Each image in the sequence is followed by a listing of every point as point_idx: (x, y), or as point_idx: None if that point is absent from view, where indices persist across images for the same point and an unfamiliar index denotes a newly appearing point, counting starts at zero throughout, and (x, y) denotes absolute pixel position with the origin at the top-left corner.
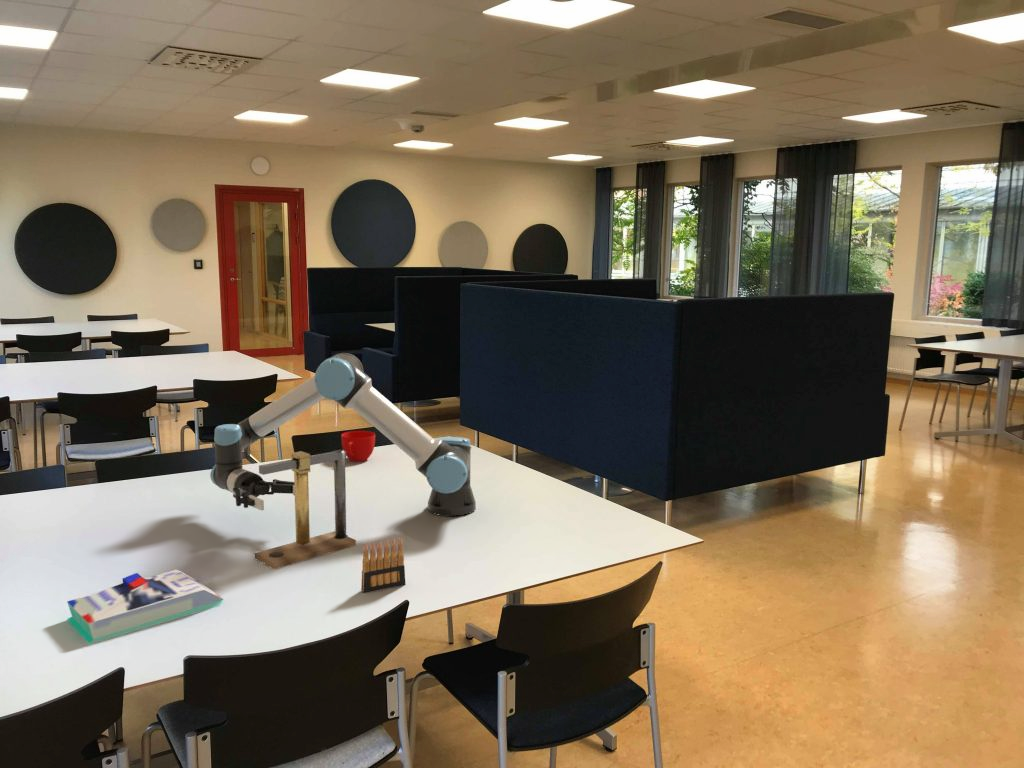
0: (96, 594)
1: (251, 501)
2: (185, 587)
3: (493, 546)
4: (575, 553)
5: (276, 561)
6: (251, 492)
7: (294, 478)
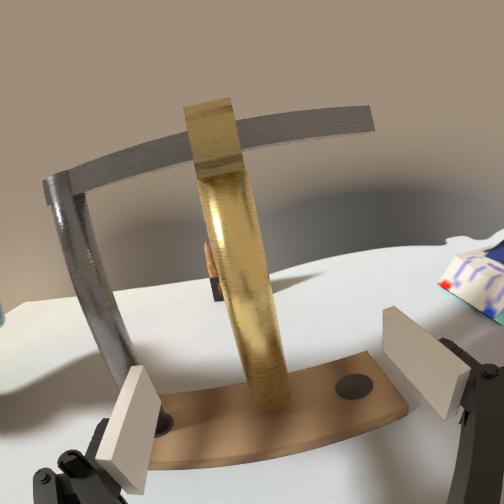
0: None
1: (442, 339)
2: (481, 262)
3: (72, 330)
4: (68, 305)
5: (359, 357)
6: (463, 485)
7: (252, 195)
